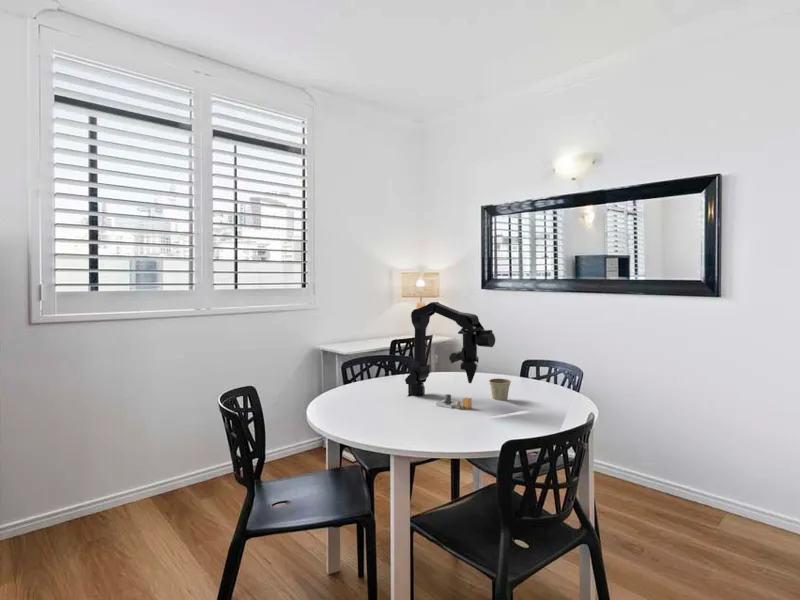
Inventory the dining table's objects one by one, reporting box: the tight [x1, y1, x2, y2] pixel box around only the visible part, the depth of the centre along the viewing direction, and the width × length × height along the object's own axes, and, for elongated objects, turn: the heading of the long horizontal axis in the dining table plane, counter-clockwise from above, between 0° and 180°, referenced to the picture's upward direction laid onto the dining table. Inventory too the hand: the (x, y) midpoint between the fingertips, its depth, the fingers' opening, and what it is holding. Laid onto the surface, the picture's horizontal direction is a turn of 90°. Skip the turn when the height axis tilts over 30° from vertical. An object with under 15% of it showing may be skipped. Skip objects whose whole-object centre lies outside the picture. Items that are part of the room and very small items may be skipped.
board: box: [444, 393, 461, 410], centre depth 197 cm, size 22×22×5 cm
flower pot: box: [488, 377, 512, 402], centre depth 207 cm, size 9×9×9 cm
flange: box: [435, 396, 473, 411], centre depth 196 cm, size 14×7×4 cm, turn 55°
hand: (470, 383), depth 197 cm, fingers closed
